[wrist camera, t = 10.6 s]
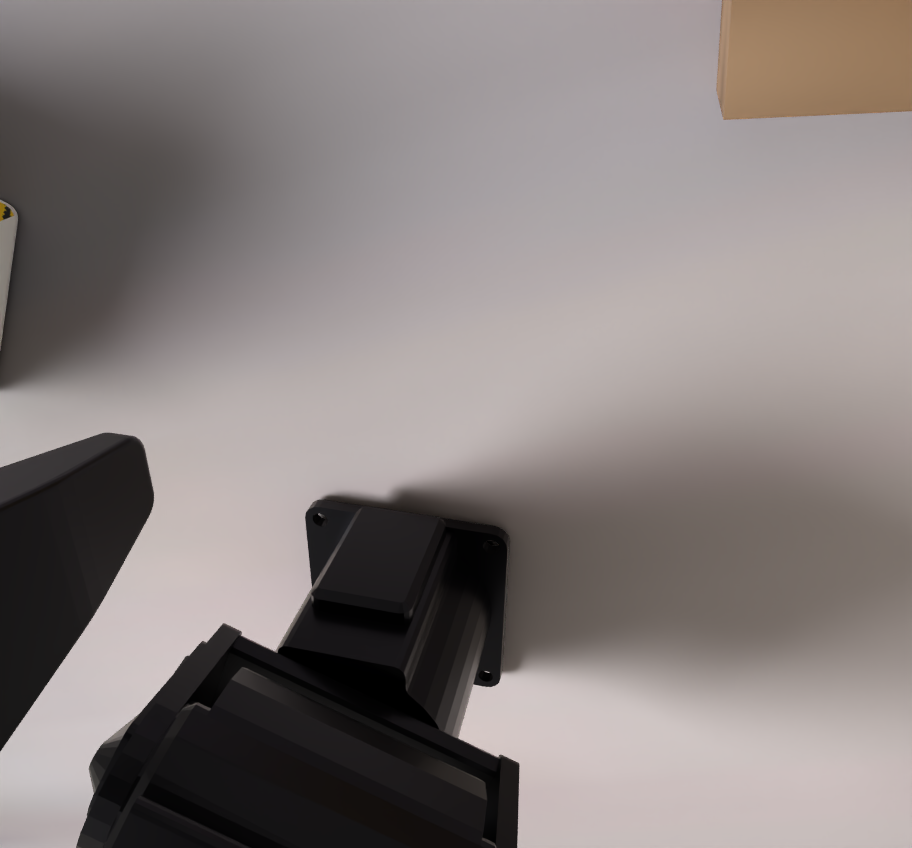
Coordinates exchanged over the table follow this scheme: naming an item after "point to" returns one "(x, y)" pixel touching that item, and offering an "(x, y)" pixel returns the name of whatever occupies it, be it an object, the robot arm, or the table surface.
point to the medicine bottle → (6, 254)
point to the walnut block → (814, 57)
